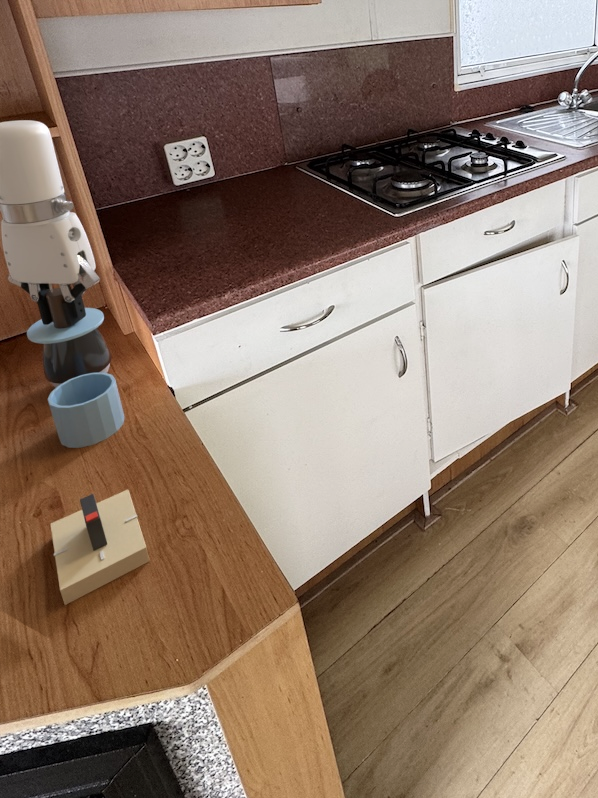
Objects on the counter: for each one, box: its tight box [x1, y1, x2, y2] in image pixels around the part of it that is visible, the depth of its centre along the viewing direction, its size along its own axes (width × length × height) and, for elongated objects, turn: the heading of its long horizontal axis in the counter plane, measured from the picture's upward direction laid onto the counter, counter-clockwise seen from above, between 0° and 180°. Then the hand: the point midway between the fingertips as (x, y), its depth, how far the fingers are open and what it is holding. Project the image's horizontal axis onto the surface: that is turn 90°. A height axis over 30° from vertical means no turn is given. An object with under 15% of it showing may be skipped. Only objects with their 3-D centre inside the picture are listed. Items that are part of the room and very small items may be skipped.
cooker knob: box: [79, 493, 107, 551], centre depth 75 cm, size 5×2×5 cm, turn 42°
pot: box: [47, 372, 125, 449], centre depth 96 cm, size 9×9×8 cm
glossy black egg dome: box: [42, 327, 112, 388], centre depth 107 cm, size 10×10×15 cm
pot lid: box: [26, 287, 105, 345], centre depth 88 cm, size 10×10×7 cm
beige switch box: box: [50, 489, 151, 606], centre depth 76 cm, size 12×9×3 cm
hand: (65, 319), depth 89 cm, fingers closed on pot lid, 3 cm apart
